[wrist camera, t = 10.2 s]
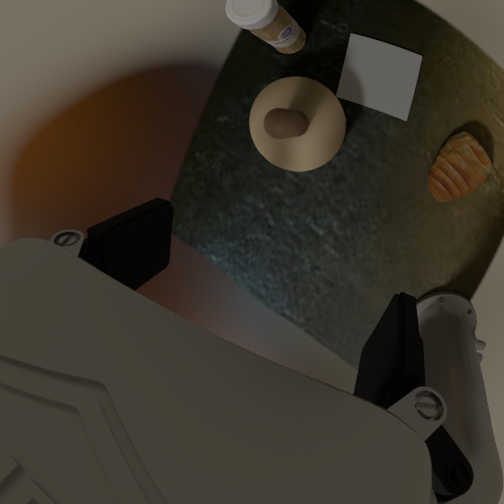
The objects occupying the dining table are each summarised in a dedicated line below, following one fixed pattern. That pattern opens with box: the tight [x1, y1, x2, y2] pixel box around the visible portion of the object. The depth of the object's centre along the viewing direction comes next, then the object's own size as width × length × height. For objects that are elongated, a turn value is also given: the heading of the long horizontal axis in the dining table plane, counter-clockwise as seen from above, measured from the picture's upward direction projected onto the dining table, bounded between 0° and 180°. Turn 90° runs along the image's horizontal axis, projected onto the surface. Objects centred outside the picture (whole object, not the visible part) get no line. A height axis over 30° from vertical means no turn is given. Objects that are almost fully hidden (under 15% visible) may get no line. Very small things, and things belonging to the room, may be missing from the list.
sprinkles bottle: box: [225, 0, 306, 54], centre depth 24 cm, size 5×5×13 cm
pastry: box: [426, 131, 492, 202], centre depth 27 cm, size 9×7×4 cm
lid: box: [250, 77, 346, 171], centre depth 28 cm, size 11×11×7 cm
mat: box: [336, 33, 422, 121], centre depth 28 cm, size 9×9×1 cm
